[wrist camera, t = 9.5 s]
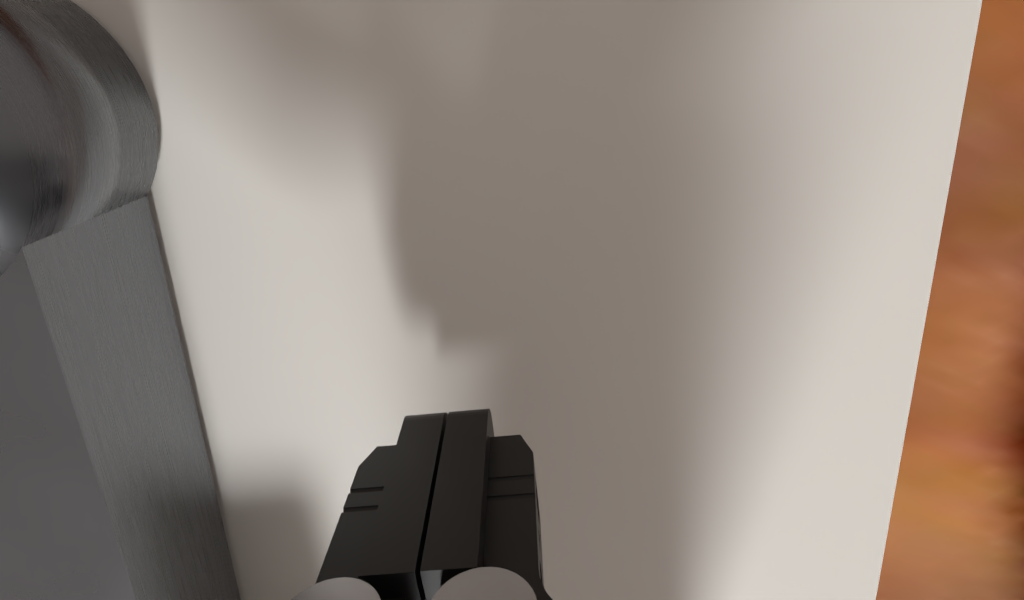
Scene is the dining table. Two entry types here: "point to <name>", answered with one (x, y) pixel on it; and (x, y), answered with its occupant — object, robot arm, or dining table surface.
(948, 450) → the dining table surface
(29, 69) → the link
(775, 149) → the base plate
